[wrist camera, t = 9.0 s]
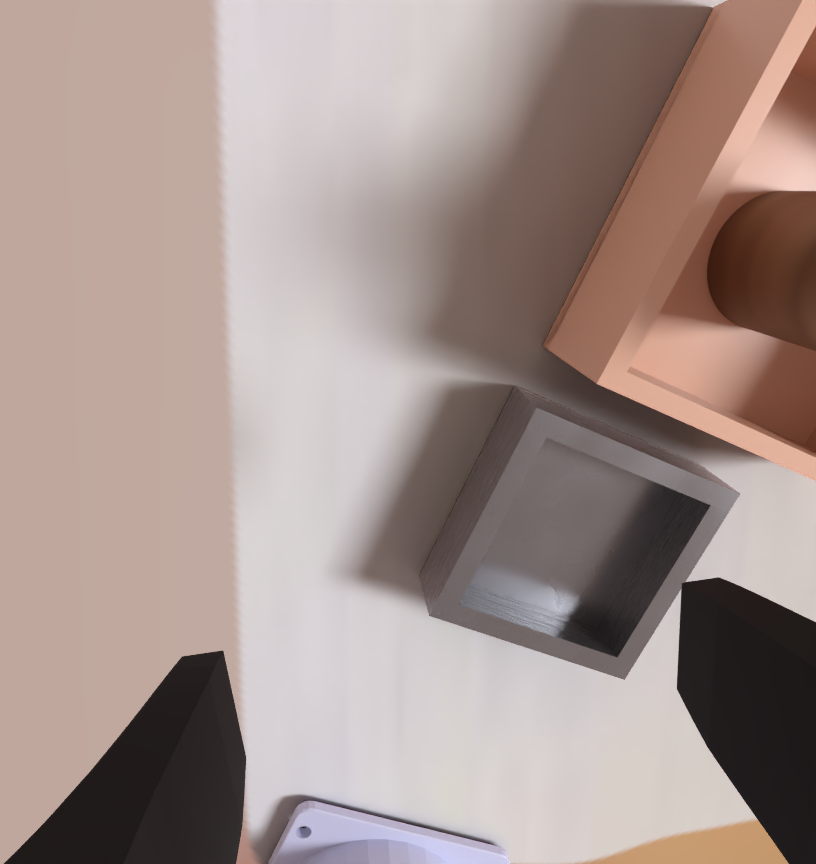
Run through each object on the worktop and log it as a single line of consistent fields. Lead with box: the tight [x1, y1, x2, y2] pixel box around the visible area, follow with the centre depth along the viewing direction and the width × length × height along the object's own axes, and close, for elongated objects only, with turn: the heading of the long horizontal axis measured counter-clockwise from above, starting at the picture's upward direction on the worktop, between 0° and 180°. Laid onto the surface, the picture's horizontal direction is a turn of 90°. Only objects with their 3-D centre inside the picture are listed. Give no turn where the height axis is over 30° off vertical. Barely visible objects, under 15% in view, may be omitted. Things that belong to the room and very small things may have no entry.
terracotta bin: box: [543, 0, 816, 481], centre depth 17 cm, size 9×9×4 cm
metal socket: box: [419, 386, 740, 680], centre depth 20 cm, size 6×6×2 cm
